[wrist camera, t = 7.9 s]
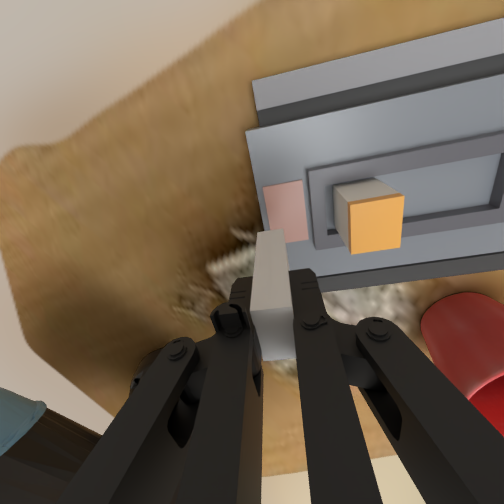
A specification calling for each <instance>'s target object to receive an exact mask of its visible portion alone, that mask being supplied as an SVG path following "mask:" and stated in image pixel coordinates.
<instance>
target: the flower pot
mask: <svg viewBox="0 0 504 504" xmlns="http://www.w3.org/2000/svg"><path fill="white" fill-rule="evenodd" d="M421 332H422V334H423V337H424V340H425V342H426V345H427V347H428V350H429V352H430V355H431V357H432V360H433V362H434V364H435V366H436V367H437V368H438V369H439V370H440V371H441V372H442V373H443V374H444V375H445V376H446V377H447V378H448V379H449V380H450V381H451V382H452V383H453V384H454V386H455V387H456V388H457V389H458V390H459V391H460V392H461V393H462V394H463V395H464V396H465V397H466V398H467V399H468V400H469V401H470V402H471V403H472V404H473V405H474V406H475V407H476V408H477V409H478V410H479V412H480V413H481V414H482V415H483V416H484V417H485V418H486V419H487V420H488V421H489V422H490V423H491V424H492V425H493V426H494V427H495V428H496V429H497V430H498V431H499V432H500V433H501V434H502V435H503V436H504V305H503V304H501V303H499V302H497V301H495V300H493V299H492V298H490V297H488V296H486V295H483V294H479V293H473V292H465V293H458V294H454V295H450V296H448V297H445V298H443V299H441V300H439V301H438V302H436V303H435V304H433V305H432V306H431V307H430V308H429V309H428V310H427V311H426V312H425V314H424V315H423V317H422V320H421Z"/></svg>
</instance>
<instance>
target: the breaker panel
mask: <svg viewBox="0 0 504 504" xmlns="http://www.w3.org/2000/svg"><path fill="white" fill-rule="evenodd" d="M245 133H246V138H247V144H248V149H249V154H250V159H251V164H252V169H253V174H254V179H255V184H256V189H257V195H258V200H259V205H260V210H261V215H262V220H263V225H264V230H265V231H269V230H276V229H282V228H283V231H284V237H285V244H286V250H287V256H288V263H289V269H290V270H297V269H305V268H310V269H311V270H312V271H313V272H314V273H315V274H316V277H317V276H324V275H332V274H339V273H346V272H354V271H361V270H368V269H376V268H383V267H390V266H398V265H405V264H412V263H420V262H427V261H434V260H442V259H449V258H456V257H464V256H471V255H479V254H486V253H493V252H501V251H504V73H500V74H496V75H491V76H487V77H482V78H478V79H473V80H469V81H464V82H460V83H455V84H451V85H447V86H442V87H438V88H433V89H429V90H424V91H420V92H415V93H411V94H406V95H402V96H397V97H393V98H388V99H384V100H380V101H375V102H371V103H366V104H362V105H357V106H353V107H348V108H344V109H339V110H335V111H330V112H326V113H322V114H317V115H313V116H308V117H304V118H299V119H295V120H290V121H286V122H281V123H277V124H272V125H268V126H263V127H260V126H259V127H255V128H251V129H247V130H246V131H245ZM374 177H375V178H376V179H378V180H380V181H381V182H383V183H384V184H386V185H388V186H389V187H391V188H393V189H394V190H396V191H398V192H399V193H401V194H402V195H404V196H405V197H404V209H403V220H402V232H401V244H400V248H394V249H387V250H380V251H373V252H366V253H359V254H352V255H351V253H350V252H349V250H348V248H347V247H346V245H345V243H344V241H343V240H342V238H341V236H340V235H339V233H338V231H337V230H336V228H335V224H334V205H333V186H332V185H336V184H341V183H347V182H352V181H358V180H363V179H369V178H374Z"/></svg>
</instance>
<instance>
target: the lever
mask: <svg viewBox="0 0 504 504" xmlns="http://www.w3.org/2000/svg"><path fill="white" fill-rule="evenodd" d="M332 186H333V205H334V224H335V228H336V230H337V231H338V233H339V235H340V236H341V238H342V240H343V241H344V243H345V245H346V247H347V248H348V250H349V252H350V253H351V255H352V254H359V253H366V252H373V251H380V250H387V249H394V248H400V244H401V232H402V220H403V209H404V197H405V196H404V195H402V194H401V193H399V192H398V191H396V190H394V189H393V188H391V187H389V186H388V185H386V184H384V183H383V182H381V181H380V180H378V179H376V178H375V177H374V178H369V179H363V180H358V181H352V182H347V183H341V184H336V185H332Z"/></svg>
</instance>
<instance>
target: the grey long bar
mask: <svg viewBox="0 0 504 504" xmlns="http://www.w3.org/2000/svg"><path fill="white" fill-rule="evenodd" d="M500 73H504V18H500V19H496V20H493V21H489V22H485V23H481V24H477V25H473V26H469V27H465V28H461V29H457V30H453V31H449V32H445V33H441V34H437V35H433V36H429V37H425V38H421V39H417V40H413V41H409V42H405V43H401V44H397V45H393V46H389V47H385V48H381V49H377V50H373V51H369V52H365V53H361V54H357V55H353V56H349V57H345V58H341V59H337V60H333V61H329V62H325V63H321V64H317V65H313V66H309V67H305V68H301V69H297V70H293V71H289V72H285V73H281V74H277V75H273V76H269V77H265V78H262V79H258V80H254V81H252V85H253V91H254V97H255V103H256V109H257V114H258V119H259V125H260V127H263V126H268V125H272V124H277V123H281V122H286V121H290V120H295V119H299V118H304V117H308V116H313V115H317V114H322V113H326V112H330V111H335V110H339V109H344V108H348V107H353V106H357V105H362V104H366V103H371V102H375V101H380V100H384V99H388V98H393V97H397V96H402V95H406V94H411V93H415V92H420V91H424V90H429V89H433V88H438V87H442V86H447V85H451V84H455V83H460V82H464V81H469V80H473V79H478V78H482V77H487V76H491V75H496V74H500Z"/></svg>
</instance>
